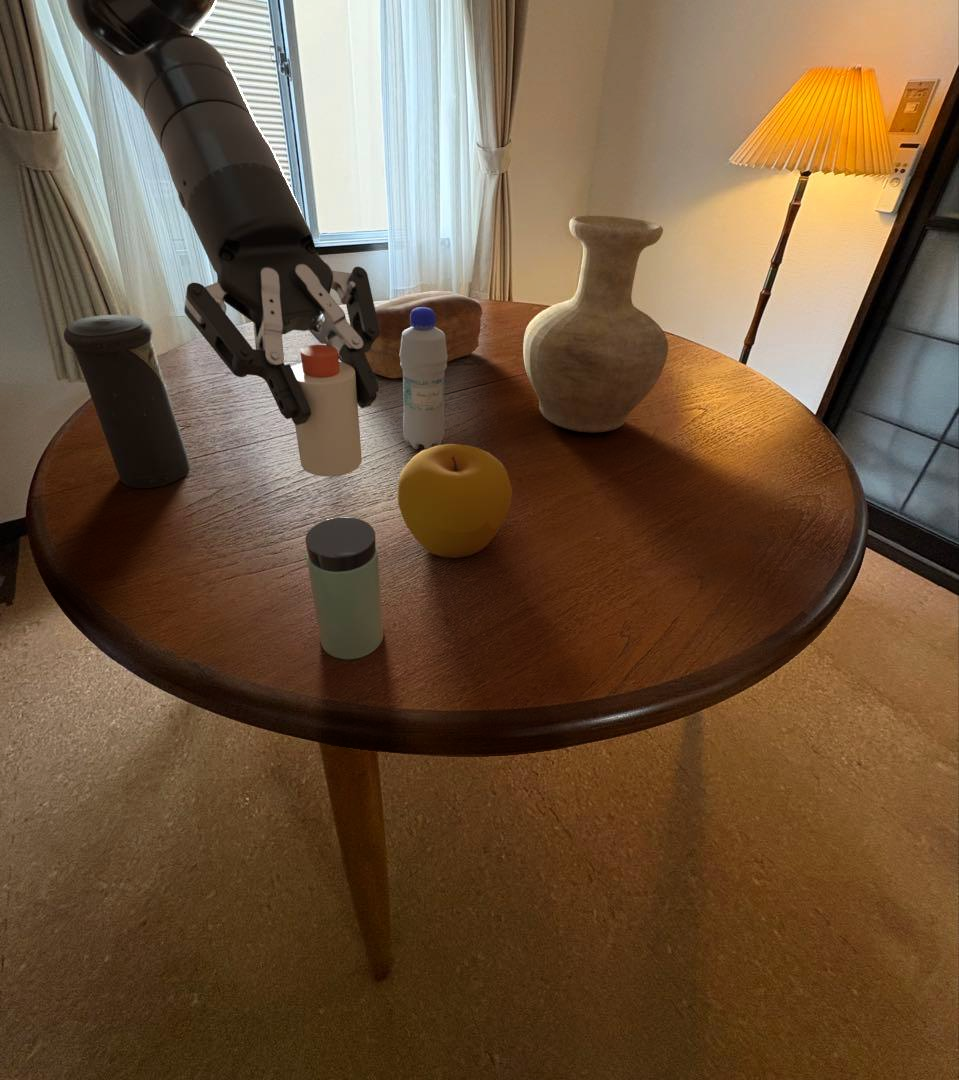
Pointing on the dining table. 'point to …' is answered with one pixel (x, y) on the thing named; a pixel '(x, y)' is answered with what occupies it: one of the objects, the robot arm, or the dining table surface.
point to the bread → (452, 317)
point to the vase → (597, 333)
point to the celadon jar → (345, 586)
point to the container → (130, 398)
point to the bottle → (423, 379)
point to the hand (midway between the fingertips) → (337, 410)
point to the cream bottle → (328, 413)
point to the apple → (454, 498)
